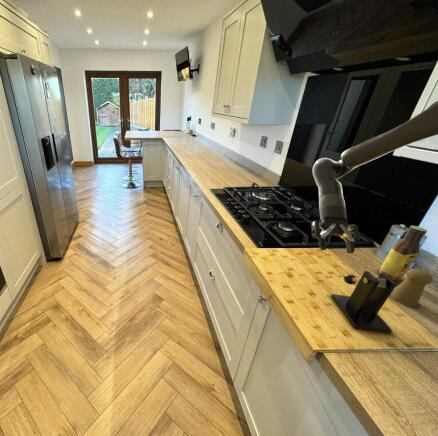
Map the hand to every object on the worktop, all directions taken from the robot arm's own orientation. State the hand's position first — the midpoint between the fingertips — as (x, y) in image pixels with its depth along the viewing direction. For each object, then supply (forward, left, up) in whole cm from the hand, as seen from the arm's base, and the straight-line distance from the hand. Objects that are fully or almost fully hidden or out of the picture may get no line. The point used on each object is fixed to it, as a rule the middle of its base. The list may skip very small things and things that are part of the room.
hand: (336, 251), depth 81 cm
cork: (-20, +5, -10) cm, 23 cm away
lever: (-3, +15, -2) cm, 15 cm away
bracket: (-3, +18, -10) cm, 21 cm away
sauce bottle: (-22, -8, -10) cm, 26 cm away
